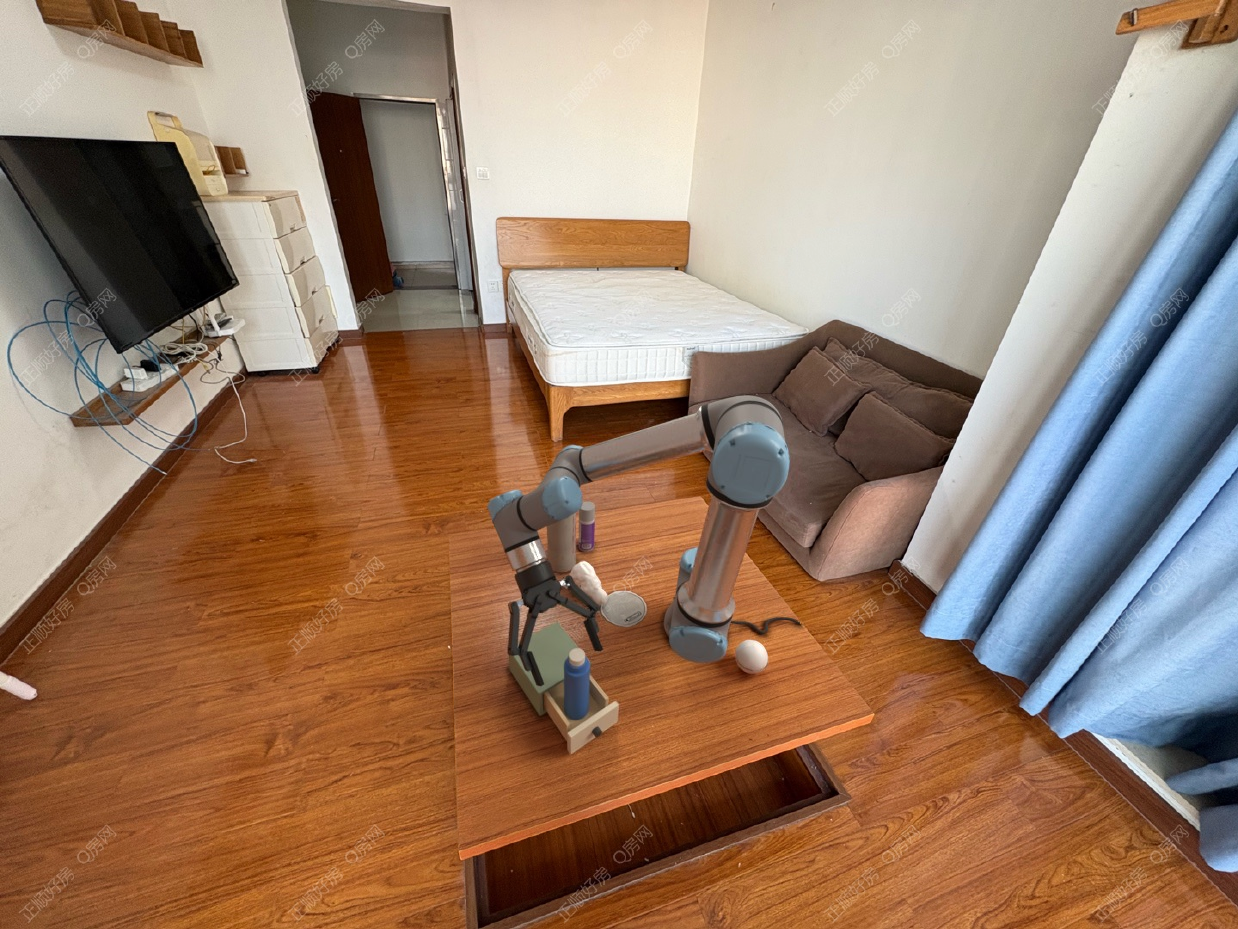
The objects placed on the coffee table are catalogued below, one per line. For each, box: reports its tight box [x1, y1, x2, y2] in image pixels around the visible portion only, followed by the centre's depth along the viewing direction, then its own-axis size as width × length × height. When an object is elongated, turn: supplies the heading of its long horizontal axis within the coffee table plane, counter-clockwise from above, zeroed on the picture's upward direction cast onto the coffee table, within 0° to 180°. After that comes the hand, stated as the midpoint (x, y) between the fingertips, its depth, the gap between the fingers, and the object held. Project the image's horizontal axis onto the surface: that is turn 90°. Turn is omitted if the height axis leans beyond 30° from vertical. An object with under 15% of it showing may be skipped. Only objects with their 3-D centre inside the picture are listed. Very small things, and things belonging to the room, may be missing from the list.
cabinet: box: [507, 621, 592, 717], centre depth 110 cm, size 14×13×8 cm
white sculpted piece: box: [568, 560, 609, 607], centre depth 131 cm, size 6×8×12 cm
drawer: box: [542, 675, 620, 755], centre depth 102 cm, size 14×11×6 cm
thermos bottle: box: [546, 512, 577, 573], centre depth 136 cm, size 8×8×28 cm
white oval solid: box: [734, 639, 773, 675], centre depth 114 cm, size 10×7×7 cm
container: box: [577, 500, 596, 553], centre depth 146 cm, size 5×5×15 cm
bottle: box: [564, 647, 591, 720], centre depth 99 cm, size 5×5×17 cm
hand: (571, 667), depth 99 cm, fingers open, 13 cm apart
